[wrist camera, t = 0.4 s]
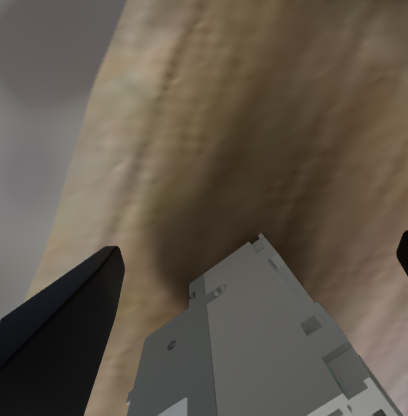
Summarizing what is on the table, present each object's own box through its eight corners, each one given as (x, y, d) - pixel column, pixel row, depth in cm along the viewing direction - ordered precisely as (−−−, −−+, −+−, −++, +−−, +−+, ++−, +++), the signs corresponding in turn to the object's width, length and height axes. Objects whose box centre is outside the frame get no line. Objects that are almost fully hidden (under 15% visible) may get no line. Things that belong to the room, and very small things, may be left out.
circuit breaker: (138, 320, 25) (63, 564, 10) (261, 232, 23) (376, 372, 9) (186, 370, 26) (180, 645, 12) (304, 291, 25) (462, 493, 10)
